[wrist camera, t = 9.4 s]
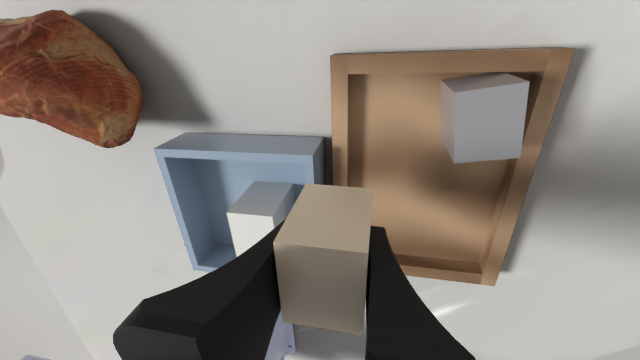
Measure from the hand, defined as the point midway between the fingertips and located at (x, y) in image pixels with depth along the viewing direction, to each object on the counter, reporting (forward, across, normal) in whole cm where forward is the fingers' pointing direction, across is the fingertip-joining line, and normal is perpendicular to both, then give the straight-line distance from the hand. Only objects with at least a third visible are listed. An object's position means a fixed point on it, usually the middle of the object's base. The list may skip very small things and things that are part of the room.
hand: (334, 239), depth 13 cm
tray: (+9, -5, +1) cm, 10 cm away
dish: (+9, +8, +4) cm, 12 cm away
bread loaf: (+9, +20, -6) cm, 23 cm away
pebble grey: (+8, +6, +4) cm, 11 cm away
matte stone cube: (+8, -7, -4) cm, 12 cm away
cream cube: (+1, 0, 0) cm, 1 cm away
